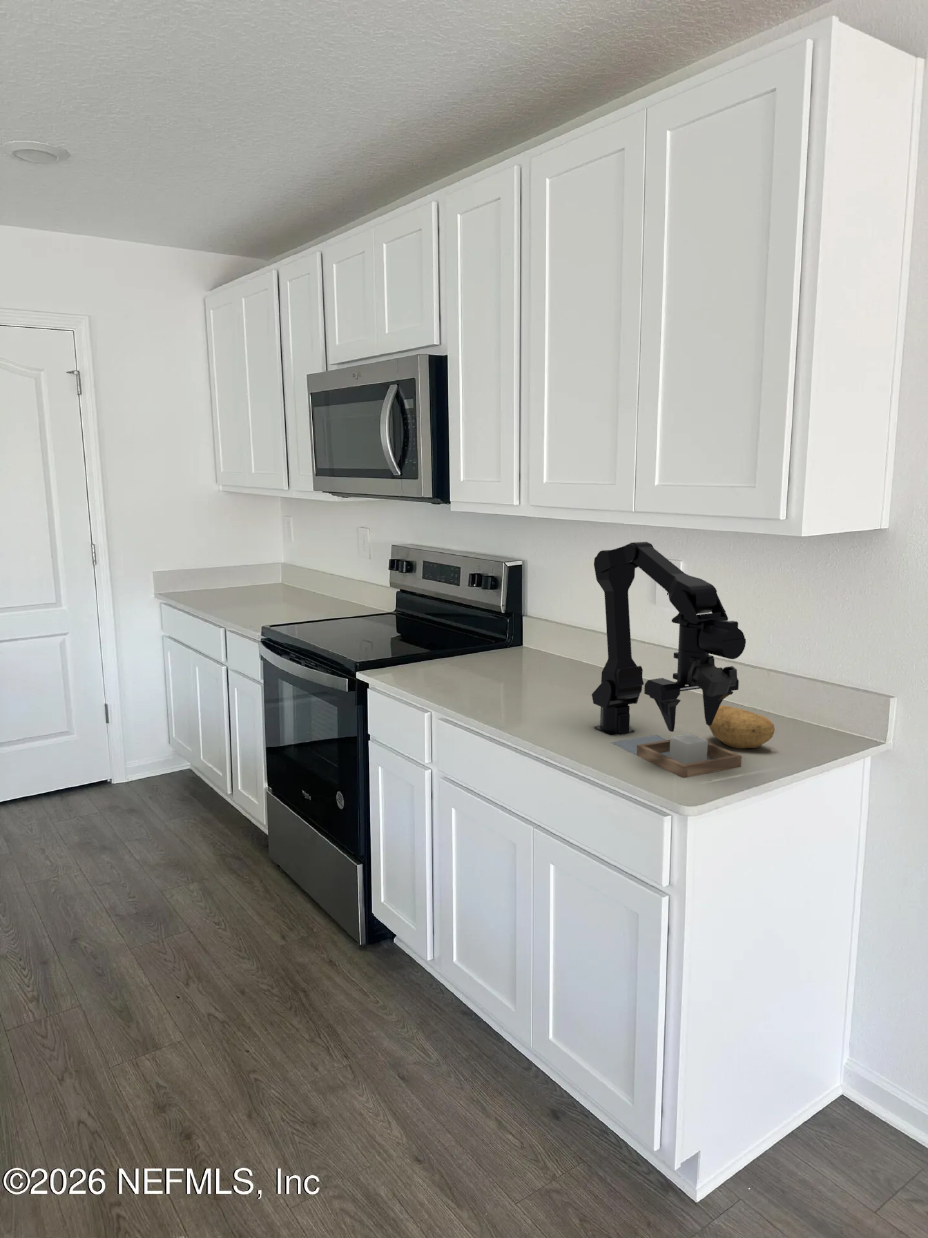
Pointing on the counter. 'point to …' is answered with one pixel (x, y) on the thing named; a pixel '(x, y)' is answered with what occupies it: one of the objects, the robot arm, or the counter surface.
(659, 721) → the counter surface
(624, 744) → the mat
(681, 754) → the white cube
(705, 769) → the bin
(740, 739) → the potato
